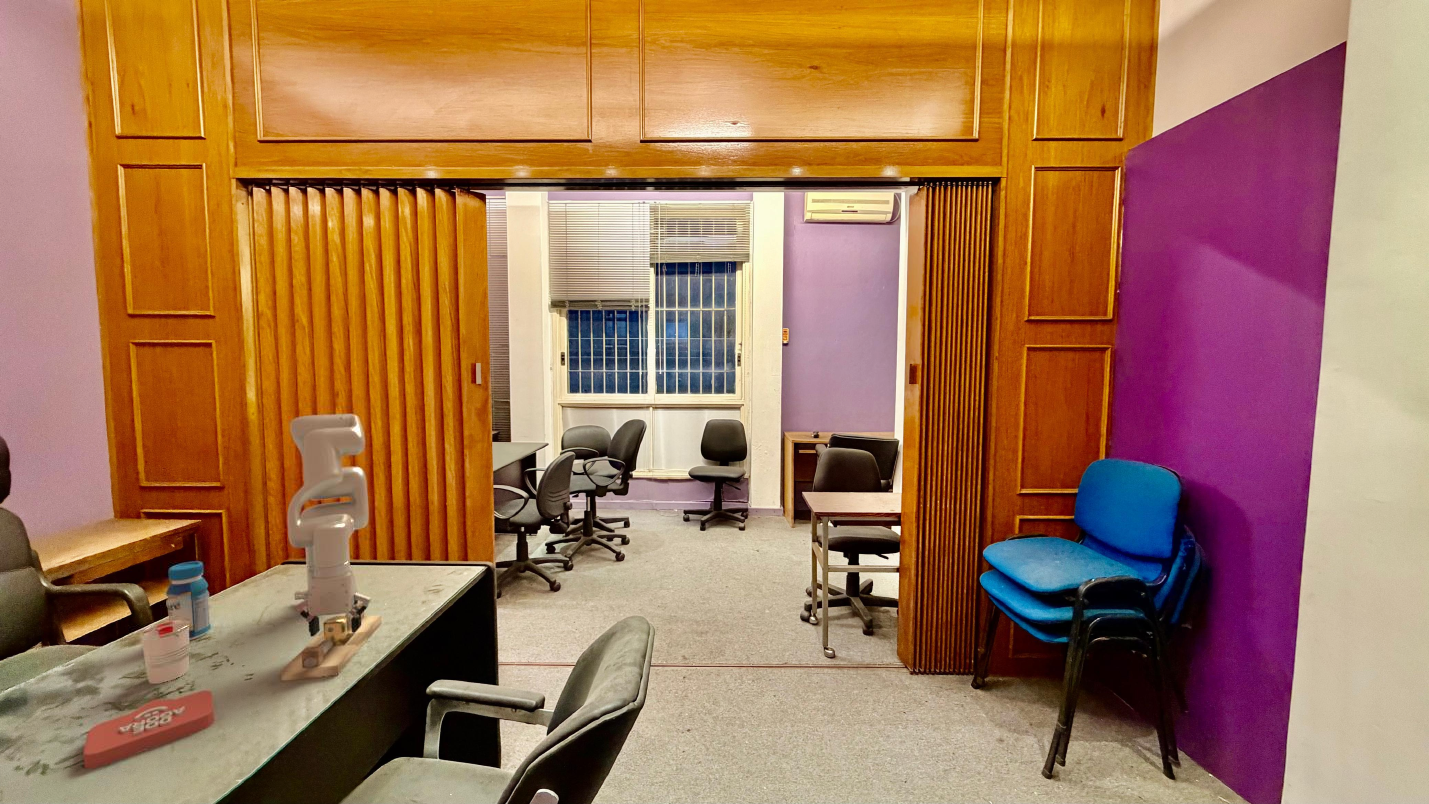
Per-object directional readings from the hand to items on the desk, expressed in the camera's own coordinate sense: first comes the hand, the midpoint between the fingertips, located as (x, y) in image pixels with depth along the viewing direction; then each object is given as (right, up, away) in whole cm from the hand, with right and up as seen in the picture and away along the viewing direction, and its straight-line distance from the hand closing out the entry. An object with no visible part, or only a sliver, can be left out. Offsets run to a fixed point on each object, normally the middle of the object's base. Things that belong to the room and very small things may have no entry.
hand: (335, 631), depth 140 cm
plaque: (-16, -8, -30) cm, 35 cm away
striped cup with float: (-32, -6, -12) cm, 35 cm away
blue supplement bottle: (-45, -4, +7) cm, 46 cm away
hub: (0, -5, 0) cm, 5 cm away
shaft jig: (0, -5, 0) cm, 5 cm away
